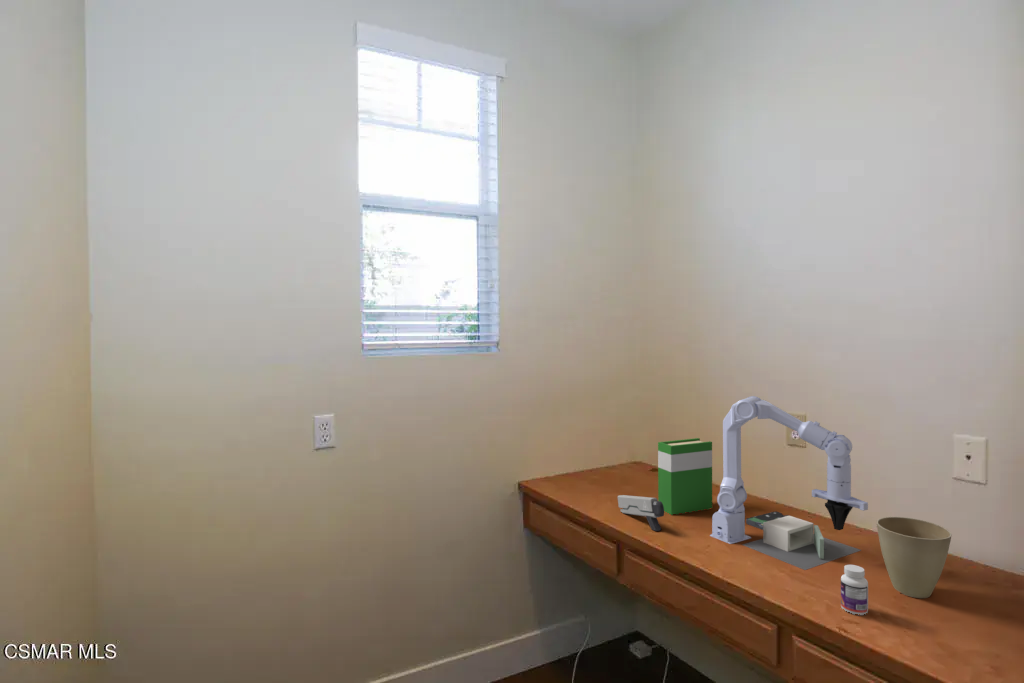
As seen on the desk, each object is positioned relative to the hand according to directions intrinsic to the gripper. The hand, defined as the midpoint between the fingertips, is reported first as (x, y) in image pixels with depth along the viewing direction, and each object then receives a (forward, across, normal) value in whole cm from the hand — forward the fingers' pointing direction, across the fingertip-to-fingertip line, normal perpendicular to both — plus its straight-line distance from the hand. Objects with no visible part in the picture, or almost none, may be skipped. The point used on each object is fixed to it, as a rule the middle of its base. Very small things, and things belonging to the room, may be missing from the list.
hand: (838, 528), depth 155 cm
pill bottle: (+9, -18, +23) cm, 30 cm away
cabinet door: (+8, +6, -1) cm, 10 cm away
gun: (+9, +52, +26) cm, 59 cm away
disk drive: (+10, +27, -9) cm, 30 cm away
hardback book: (+9, +54, +3) cm, 54 cm away
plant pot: (+9, -20, +2) cm, 22 cm away
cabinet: (+8, +14, +1) cm, 17 cm away
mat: (+9, +10, +1) cm, 14 cm away
